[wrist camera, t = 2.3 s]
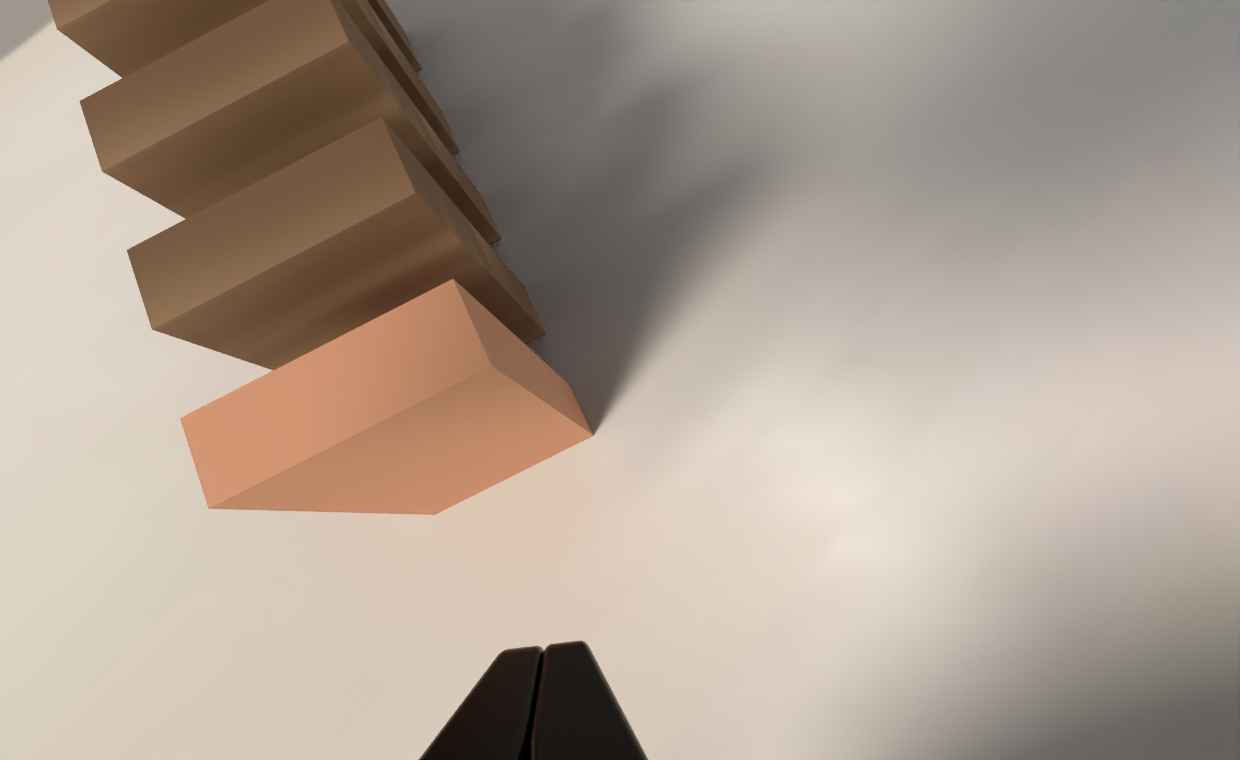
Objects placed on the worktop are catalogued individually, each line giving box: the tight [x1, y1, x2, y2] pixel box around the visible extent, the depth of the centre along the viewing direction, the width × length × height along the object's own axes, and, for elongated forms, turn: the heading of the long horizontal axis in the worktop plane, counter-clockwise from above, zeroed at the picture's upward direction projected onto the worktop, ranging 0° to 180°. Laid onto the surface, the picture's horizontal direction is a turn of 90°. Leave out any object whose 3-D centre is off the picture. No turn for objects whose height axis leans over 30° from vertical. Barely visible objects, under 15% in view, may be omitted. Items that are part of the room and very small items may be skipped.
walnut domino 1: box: [48, 0, 460, 155], centre depth 18 cm, size 2×5×9 cm, turn 116°
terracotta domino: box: [180, 279, 593, 515], centre depth 16 cm, size 2×5×9 cm, turn 116°
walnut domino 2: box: [80, 0, 501, 245], centre depth 17 cm, size 2×5×9 cm, turn 116°
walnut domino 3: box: [127, 117, 545, 370], centre depth 16 cm, size 2×5×9 cm, turn 116°
